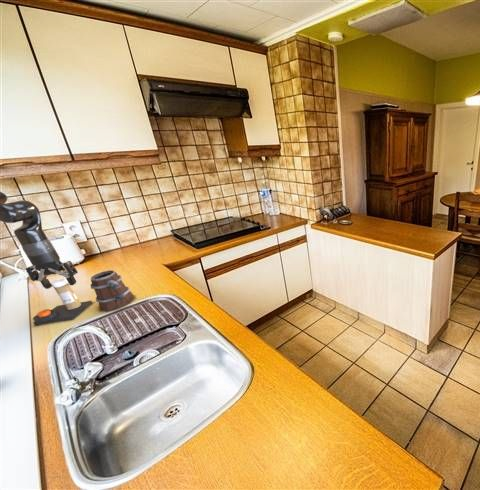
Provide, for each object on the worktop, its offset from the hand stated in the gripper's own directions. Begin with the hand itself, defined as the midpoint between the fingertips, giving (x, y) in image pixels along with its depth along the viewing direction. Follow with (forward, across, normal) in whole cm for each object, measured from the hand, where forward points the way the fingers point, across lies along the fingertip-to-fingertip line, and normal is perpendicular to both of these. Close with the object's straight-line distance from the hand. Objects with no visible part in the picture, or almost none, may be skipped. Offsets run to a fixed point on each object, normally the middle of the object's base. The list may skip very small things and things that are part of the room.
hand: (61, 286), depth 112 cm
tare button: (+10, +6, +5) cm, 13 cm away
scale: (+12, +2, +2) cm, 13 cm away
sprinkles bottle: (+11, 0, 0) cm, 11 cm away
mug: (+12, -18, +1) cm, 22 cm away
